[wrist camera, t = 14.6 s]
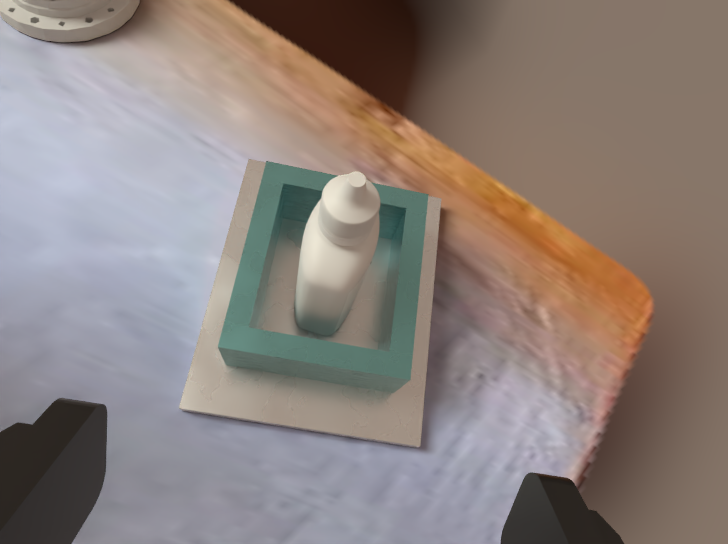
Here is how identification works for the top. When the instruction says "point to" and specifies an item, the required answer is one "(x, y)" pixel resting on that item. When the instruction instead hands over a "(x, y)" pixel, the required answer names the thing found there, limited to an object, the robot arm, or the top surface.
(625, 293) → the top surface
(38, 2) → the mechanical component
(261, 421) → the tray
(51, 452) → the robot arm
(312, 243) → the eye dropper bottle
